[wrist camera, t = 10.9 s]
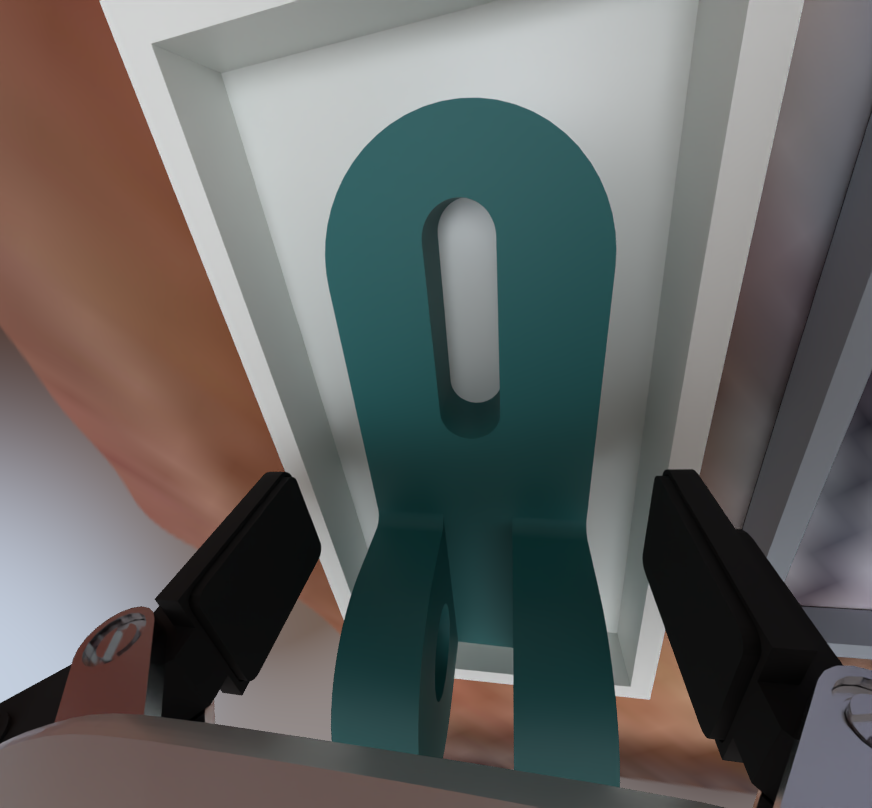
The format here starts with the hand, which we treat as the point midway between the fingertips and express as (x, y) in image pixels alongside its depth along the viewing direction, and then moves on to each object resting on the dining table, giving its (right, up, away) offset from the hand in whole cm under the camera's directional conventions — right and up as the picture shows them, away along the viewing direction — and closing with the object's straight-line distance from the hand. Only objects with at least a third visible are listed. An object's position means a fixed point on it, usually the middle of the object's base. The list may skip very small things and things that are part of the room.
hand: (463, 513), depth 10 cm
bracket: (+1, +2, +4) cm, 4 cm away
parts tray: (+1, +2, +4) cm, 5 cm away
